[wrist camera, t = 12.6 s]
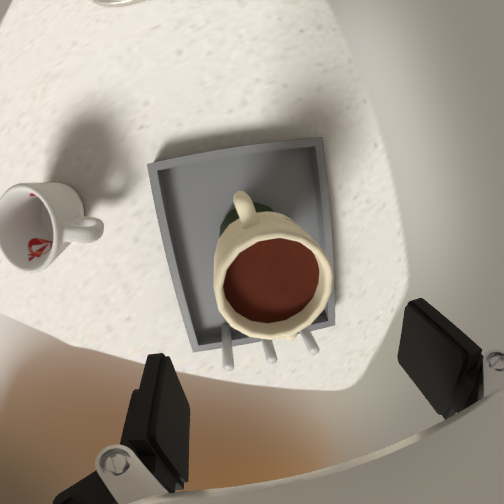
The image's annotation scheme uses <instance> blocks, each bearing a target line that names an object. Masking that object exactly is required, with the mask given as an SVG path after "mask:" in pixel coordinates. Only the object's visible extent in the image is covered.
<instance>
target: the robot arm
mask: <svg viewBox="0 0 504 504" xmlns="http://www.w3.org/2000/svg"><path fill="white" fill-rule="evenodd" d="M91 1H92V2H94V3H96V4H98V5H101V6H107V7H119V6H126V5H131V4H135V3H138V2H141V1H144V0H91ZM481 352H482V349H481V348H480V347H479V346H478V345H477V344H476V343H474V342H473V341H472V340H471V339H470V338H469V337H468V336H467V335H465V334H464V333H463V332H462V331H461V330H460V329H459V328H457V327H456V326H455V325H454V324H453V323H452V322H450V321H449V320H448V319H447V318H446V317H444V316H443V315H442V314H441V313H440V312H439V311H437V310H436V309H435V308H434V307H433V306H431V305H430V304H429V303H428V302H427V301H425V300H424V299H423V298H418V299H415V300H412V301H410V302H409V303H408V305H407V306H406V307H405V311H404V319H403V326H402V333H401V339H400V345H399V351H398V362H399V364H400V365H401V366H402V367H403V369H404V370H405V371H406V373H407V374H408V375H409V377H410V378H411V379H412V380H413V382H414V383H415V384H416V386H417V387H418V388H419V390H420V391H421V392H422V394H423V395H424V396H425V398H426V399H427V400H428V401H429V403H430V404H431V405H432V407H433V408H434V410H435V411H436V412H437V413H438V414H439V415H442V416H443V417H444V419H445V420H444V421H442V422H440V423H438V424H436V425H435V426H433V427H431V428H429V429H427V430H425V431H422V432H420V433H418V434H416V435H414V436H412V437H410V438H407V439H405V440H403V441H401V442H398V443H396V444H394V445H391V446H389V447H387V448H384V449H381V450H379V451H377V452H374V453H371V454H368V455H365V456H363V457H360V458H357V459H354V460H351V461H348V462H345V463H342V464H338V465H335V466H332V467H328V468H325V469H321V470H318V471H313V472H310V473H306V474H301V475H297V476H293V477H288V478H283V479H278V480H273V481H268V482H262V483H256V484H249V485H242V486H235V487H228V488H218V489H208V490H207V489H206V490H197V491H185V492H177V493H175V490H183V489H184V482H188V475H189V474H188V470H189V429H190V428H189V427H190V406H189V403H188V401H187V398H186V396H185V394H184V391H183V389H182V386H181V384H180V382H179V380H178V377H177V374H176V372H175V369H174V366H173V364H172V361H171V359H170V357H169V356H166V357H165V355H164V354H163V353H159V354H149V355H148V357H147V360H146V364H145V368H144V372H143V375H142V379H141V384H140V388H139V389H135V390H134V391H133V393H132V396H131V400H130V404H129V408H128V412H127V416H126V420H125V424H124V428H123V433H122V437H121V442H120V445H111V446H109V447H106V448H104V449H103V450H102V451H100V453H99V454H98V456H97V458H96V460H95V468H96V471H95V472H93V473H91V474H90V475H88V476H87V477H85V478H84V479H82V480H81V481H79V482H77V483H76V484H74V485H73V486H71V487H69V488H68V489H66V490H65V491H63V492H61V493H60V494H58V495H57V496H56V497H55V499H54V501H53V504H504V351H502V350H498V349H497V350H496V349H495V350H490V351H488V352H487V353H485V355H484V356H483V355H482V354H481ZM456 412H457V414H455V413H456Z"/></svg>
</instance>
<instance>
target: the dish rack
mask: <svg viewBox="0 0 504 504" xmlns="http://www.w3.org/2000/svg"><path fill="white" fill-rule="evenodd" d="M147 167H148V172H149V178H150V183H151V189H152V194H153V199H154V204H155V209H156V214H157V218H158V223H159V227H160V232H161V236H162V241H163V245H164V249H165V253H166V258H167V262H168V266H169V270H170V274H171V277H172V281H173V285H174V289H175V293H176V296H177V300H178V303H179V307H180V311H181V314H182V318H183V321H184V324H185V328H186V331H187V334H188V338H189V341H190V344H191V347H192V350H193V352H198V351H205V350H212V349H219V348H222V356H223V369H224V370H225V371H228V372H229V371H232V370H233V369H234V361H233V351H232V346H237V345H243V344H249V343H255V342H260V341H262V345H263V349H264V353H265V357H266V361H267V363H269V364H274V363H276V362H277V356H276V353H275V349H274V346H273V343H272V340H268V339H261V338H254V337H249V336H247V335H245V334H243V333H242V332H240V331H238V330H236V329H234V328H232V327H231V326H230V325H229V323H228V322H227V321H226V320H225V318H224V317H223V316H222V314H221V313H220V312H219V310H218V306H217V301H216V297H215V292H214V286H213V282H214V255H215V251H216V247H217V242H218V239H219V235H220V225H221V224H222V222H223V220H224V219H225V217H226V216H227V214H228V213H229V212H230V211H232V210H233V209H235V208H236V207H235V204H234V202H233V197H234V194H235V193H236V192H237V191H244V192H245V193H246V194H248V196H249V197H250V198H251V200H252V202H253V203H254V202H256V203H259V204H262V205H265V206H268V207H270V208H271V209H272V210H273V211H274V212H276V213H280V214H283V215H285V216H287V217H289V218H290V219H291V220H293V221H294V222H295V223H296V224H297V225H298V226H299V227H300V228H301V229H303V230H304V231H305V232H306V233H308V234H309V235H310V236H311V237H312V239H313V240H314V241H315V242H316V243H317V244H318V245H319V246H320V247H321V248H322V250H323V251H324V253H325V254H326V255H327V257H328V258H329V261H330V263H331V266H332V269H333V277H334V262H333V243H332V228H331V215H330V202H329V191H328V181H327V172H326V163H325V154H324V146H323V139H322V137H320V138H307V139H297V140H287V141H277V142H269V143H261V144H253V145H246V146H239V147H233V148H226V149H220V150H214V151H208V152H203V153H197V154H192V155H187V156H182V157H177V158H172V159H167V160H163V161H158V162H154V163H149V164H147ZM334 325H335V288H334V278H333V288H332V293H331V295H330V297H329V300H328V302H327V304H326V307H325V309H324V310H323V311H322V312H321V313H320V315H319V316H318V317H317V318H316V319H315V320H314V321H313V322H312V324H311V325H309V326H307V327H306V328H304V329H302V330H301V331H299V332H297V334H301V336H302V338H303V340H304V342H305V345H306V347H307V349H308V351H309V353H310V354H311V355H315V354H317V353H318V352H319V347H318V345H317V343H316V341H315V339H314V337H313V336H312V334H311V332H310V331H313V330H317V329H322V328H326V327H330V326H334Z"/></svg>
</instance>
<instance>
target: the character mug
mask: <svg viewBox="0 0 504 504" xmlns="http://www.w3.org/2000/svg"><path fill="white" fill-rule="evenodd" d="M233 202H234V204H235V207H236V208H235V209H233V210H232V211H230V212H229V213H228V214H227V216H226V217H225V219H224V220H223V222H222V224H221V225H220V235H219V239H218V242H217V247H216V251H215V255H214V282H213V286H214V292H215V297H216V301H217V306H218V310H219V312H220V313H221V314H222V316H223V317H224V318H225V320H226V321H227V322H228V323H229V325H230V326H231V327H232V328H234V329H236V330H238V331H240V332H242V333H243V334H245V335H247V336H249V337H254V338H261V339H268V340H273V339H278V338H283V337H285V338H286V339H287V340H293V339H294V338H295V337H296V336H297V332H299V331H301V330H302V329H304V328H306V327H307V326H309V325H311V324H312V322H313V321H314V320H315V319H316V318H317V317H318V316H319V315H320V313H321V312H322V311H323V310H324V309H325V307H326V304H327V302H328V300H329V297H330V295H331V293H332V288H333V278H334V277H333V269H332V266H331V263H330V261H329V258H328V257H327V255H326V254H325V253H324V251H323V250H322V248H321V247H320V246H319V245H318V244H317V243H316V242H315V241H314V240H313V239H312V237H311V236H310V235H309V234H308V233H306V232H305V231H304V230H303V229H301V228H300V227H299V226H298V225H297V224H296V223H295V222H294V221H293V220H291V219H290V218H289V217H287V216H285V215H283V214H280V213H276V212H274V211H273V210H272V209H271V208H270V207H268V206H265V205H262V204H259V203H256V202H254V203H253V202H252V200H251V198H250V197H249V196H248V194H246V193H245V192H244V191H237V192H236V193H235V194H234V197H233Z"/></svg>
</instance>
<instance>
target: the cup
mask: <svg viewBox="0 0 504 504" xmlns="http://www.w3.org/2000/svg"><path fill="white" fill-rule="evenodd" d="M103 230H104V224H103V222H102V220H100V219H98V218H93V217H86V216H84V209H83V204H82V201H81V199H80V197H79V195H78V194H77V193H76V192H75V190H73V189H72V188H71V187H70V186H68V185H66V184H63V183H57V182H45V183H20V184H17V185H14V186H12V187H10V188H9V189H8V190H7V191H6V192H5V193H4V194H3V195H2V197H1V199H0V250H1V251H2V253H3V255H4V256H5V258H6V259H7V260H8V261H9V262H10V264H11V265H13V266H14V267H15V268H17V269H18V270H20V271H23V272H26V273H37V272H40V271H42V270H44V269H46V268H47V267H48V266H49V265H50V264H51V263H52V262H53V261H54V260H55V259H56V258H57V257H58V256H59V255H60V254H61V253H62V252H63V251H64V250H65V249H66V248H67V247H68V246H69V245H70V244H71V243H72V242H73V243H91V242H94V241H96V240H98V239H99V238H100V237H101V236H102V234H103Z"/></svg>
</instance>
